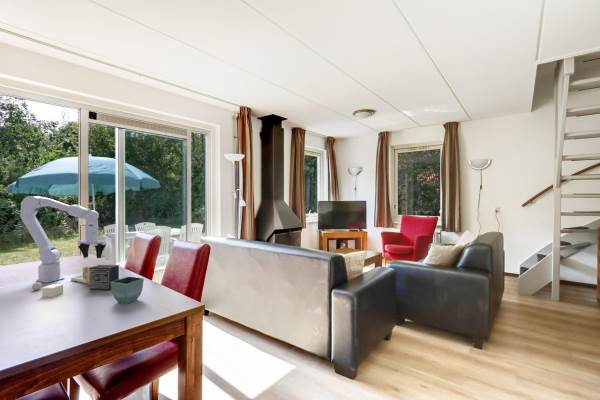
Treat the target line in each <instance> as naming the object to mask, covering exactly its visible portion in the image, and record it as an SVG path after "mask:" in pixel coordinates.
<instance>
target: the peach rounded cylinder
mask: <svg viewBox="0 0 600 400" xmlns="http://www.w3.org/2000/svg"><path fill="white" fill-rule="evenodd" d="M86 285H87V286H90V273H89V274H87V284H86Z"/></svg>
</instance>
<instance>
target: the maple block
mask: <svg viewBox="0 0 600 400" xmlns="http://www.w3.org/2000/svg"><path fill="white" fill-rule="evenodd" d="M93 266H94V265H92V264H90V265H87V266H82V275H83V279H87V274H89V273H90V270H89V268H90V267H93Z"/></svg>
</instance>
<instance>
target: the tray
mask: <svg viewBox="0 0 600 400" xmlns="http://www.w3.org/2000/svg"><path fill="white" fill-rule="evenodd" d="M70 279H71V280H70V281H71V282H75V281H77V282H76V283H80V282H82V283H83V284H86V283H87V279H83V274H79V275H76V276H71V277H70ZM82 283H81V284H82Z"/></svg>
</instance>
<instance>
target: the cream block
mask: <svg viewBox="0 0 600 400" xmlns="http://www.w3.org/2000/svg"><path fill="white" fill-rule="evenodd" d="M62 294H64V284H63V283H61V284H60V283H59V284H57V283H55V284H53V283H52V284H50V285H47V286H42V288H41V295H42V297H44V298H45V297H46V298H48V297H49V298H54V297H56V296H59V295H62Z"/></svg>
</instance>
